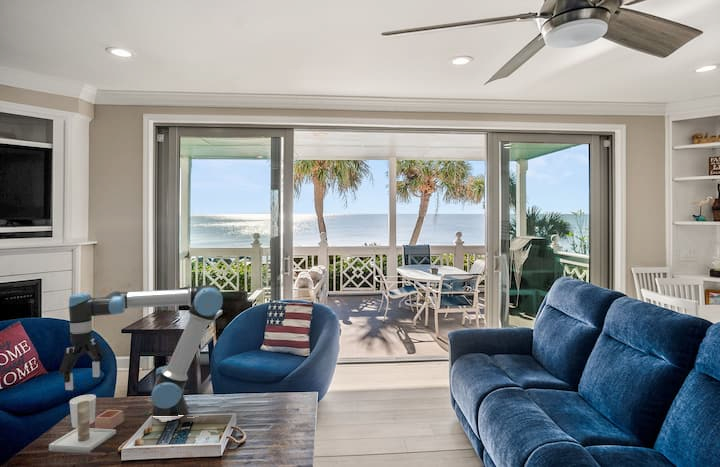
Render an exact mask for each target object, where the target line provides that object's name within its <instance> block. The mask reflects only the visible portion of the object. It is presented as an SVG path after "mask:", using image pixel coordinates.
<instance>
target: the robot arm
mask: <svg viewBox="0 0 720 467" xmlns="http://www.w3.org/2000/svg"><path fill="white" fill-rule="evenodd" d="M223 298H224V297H223V295H222V292H221V290H220V289H219V288H218V287H217V286H215V285H212V284H203V285H194V286H189V287H188V288H180V289H158V290H137V291H119V290H117V291H112V292H109V294H108V295H106V296H102V297H93V296H92V295H91V293H88V292H87V293H83V292H82V293H75V294H71V295H70V296H69V299H68V314H69V332H70V334H69V336H70V337H69V338H70V340H69V341H70V343H71V345H72V346H71V347H65V348H64V354H63V355H64V356H63V359H62V361H61V364H60V367H59V370H58V375H63V382H64V387H65V390H66V391H73V390H74V376H73V372H72V371H73V369H74V367H75V365H76V363H77V361H78V359H79V358H81V356H83V355H85V354H87V355H88V356H89V357H90V358H91V359H92V360H93V361H92V363H91V364H92V378H99V377H100V376H101V362H103V359H104V358H105V355H104V353H103V351H102V348H101V347H100V345H99V342H98V340H99V339H98V338H94V336H93V333H94V332H93V317H96V316H97V317H98V316H110V315H113V316H116V315H119V314H124V313H125V311H126V310H127V309H140V308H157V307H173V306H188V307H190V308H189V310H188V314H189V319H188V321H187V323H186V325H185V327H184V330H183V332H182V333H181V336H180V338H179V340H178V342H177V345H176V347H175V349H174V351H173V354H172V355H171V358H170V360H169V362H168V364H167V365H163V366H159V367H158V368H156V370H155V383H154V386H153V388H152V390H151V393H150V394H151V401H152V403H153V405H154V408H153V410H152V415H151V416H178V415H185V416H187V414H188V413H189V412H188V411H189V408H188V407H189V406H188V405H187V401H186V399H185V396H184V393H185V392H184V389H185V386H186V384H187V381H188V380H189V377H188V373H187V372H188V370H190V369H189V368H190V366H191V364H192V362H193V360H194V357H195V355H196V353H197V351H198V349H199V346H200V344H201V342H202V339H203V337H204V335H205V333H206V330H207V328H208V326H209V324H210V323H212V322H214V320H215V319H216V316H217V315H218V312H219V311H220V310H221V308H222V307H223V304H224V301H223V300H224V299H223Z"/></svg>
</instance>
